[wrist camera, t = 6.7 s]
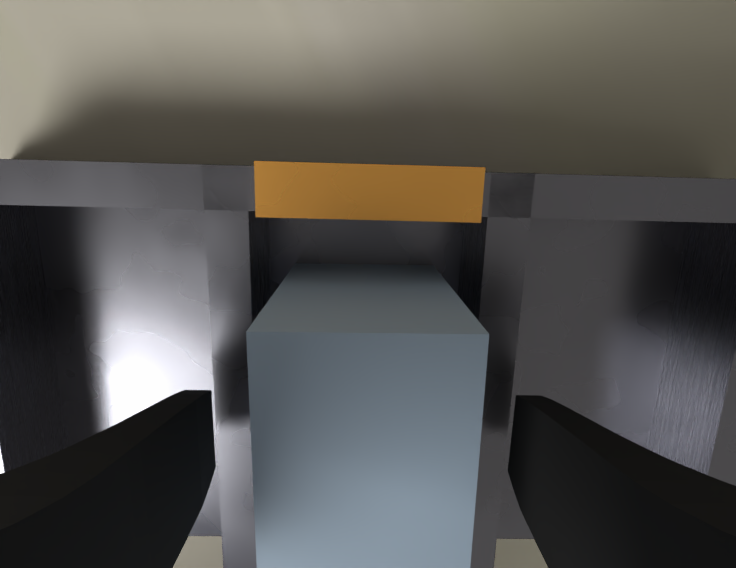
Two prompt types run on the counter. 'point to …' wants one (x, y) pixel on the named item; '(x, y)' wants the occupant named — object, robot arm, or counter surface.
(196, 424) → the robot arm
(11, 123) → the counter surface
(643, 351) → the rack
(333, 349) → the rectangular block
